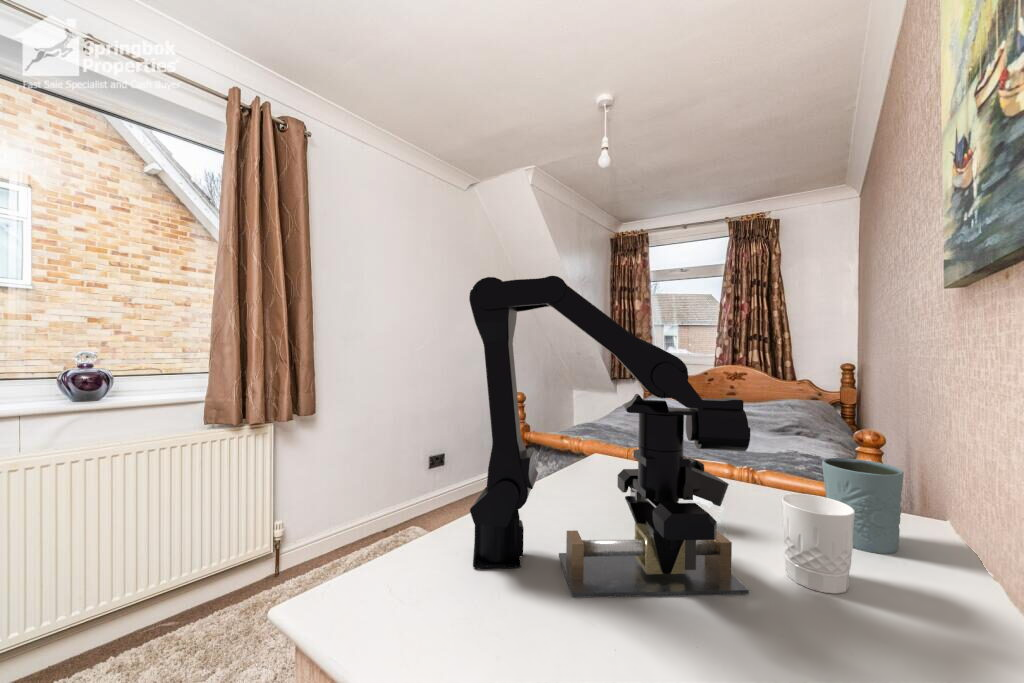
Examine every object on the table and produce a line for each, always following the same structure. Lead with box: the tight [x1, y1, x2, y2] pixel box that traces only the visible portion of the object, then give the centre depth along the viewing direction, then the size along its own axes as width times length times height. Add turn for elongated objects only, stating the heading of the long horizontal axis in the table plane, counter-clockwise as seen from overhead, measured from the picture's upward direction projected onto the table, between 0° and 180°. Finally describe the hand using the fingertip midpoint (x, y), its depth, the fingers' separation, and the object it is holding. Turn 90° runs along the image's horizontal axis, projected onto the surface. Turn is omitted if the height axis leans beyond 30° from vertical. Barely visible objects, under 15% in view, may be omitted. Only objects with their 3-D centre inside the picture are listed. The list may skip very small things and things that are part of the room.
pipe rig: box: [558, 530, 750, 598], centre depth 58 cm, size 22×10×5 cm, turn 93°
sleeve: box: [634, 522, 685, 574], centre depth 58 cm, size 5×5×5 cm
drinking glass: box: [821, 457, 904, 555], centre depth 69 cm, size 10×10×12 cm
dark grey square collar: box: [685, 540, 696, 570], centre depth 58 cm, size 2×4×4 cm, turn 3°
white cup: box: [781, 493, 855, 595], centre depth 57 cm, size 8×8×10 cm
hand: (658, 563), depth 58 cm, fingers closed on sleeve, 5 cm apart
